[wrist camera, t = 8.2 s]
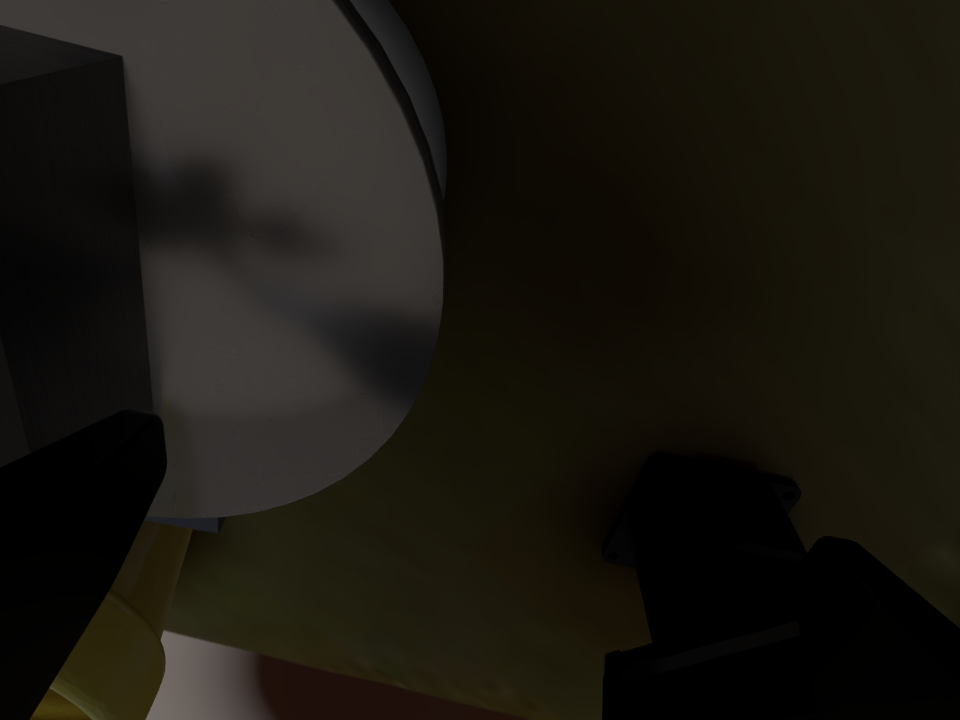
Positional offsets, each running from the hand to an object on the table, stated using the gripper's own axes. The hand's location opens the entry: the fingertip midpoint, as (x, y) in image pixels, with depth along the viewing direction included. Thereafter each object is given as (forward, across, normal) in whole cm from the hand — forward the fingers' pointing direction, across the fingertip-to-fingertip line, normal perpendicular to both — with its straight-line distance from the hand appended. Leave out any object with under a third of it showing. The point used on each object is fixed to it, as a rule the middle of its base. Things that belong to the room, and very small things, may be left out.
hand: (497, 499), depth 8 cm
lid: (+6, +8, 0) cm, 10 cm away
